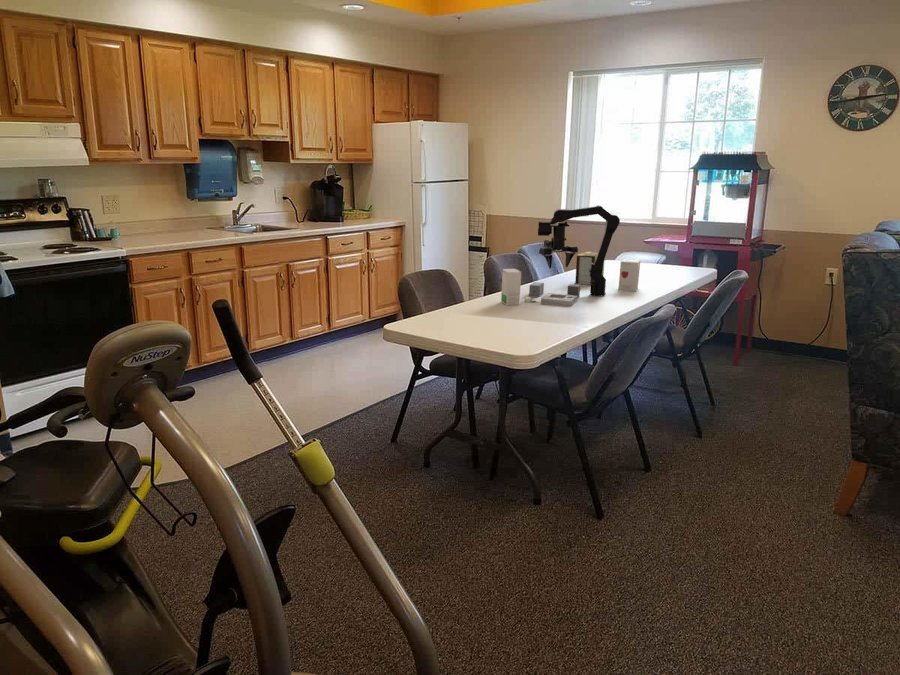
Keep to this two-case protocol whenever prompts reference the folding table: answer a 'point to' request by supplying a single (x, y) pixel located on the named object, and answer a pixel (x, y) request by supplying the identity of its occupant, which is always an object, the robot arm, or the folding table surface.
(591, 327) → the folding table surface
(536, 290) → the block
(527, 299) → the cable plug
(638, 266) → the supplement box
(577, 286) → the grey block
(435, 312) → the folding table surface
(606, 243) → the robot arm
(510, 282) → the skincare box
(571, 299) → the outlet plate
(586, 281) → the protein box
